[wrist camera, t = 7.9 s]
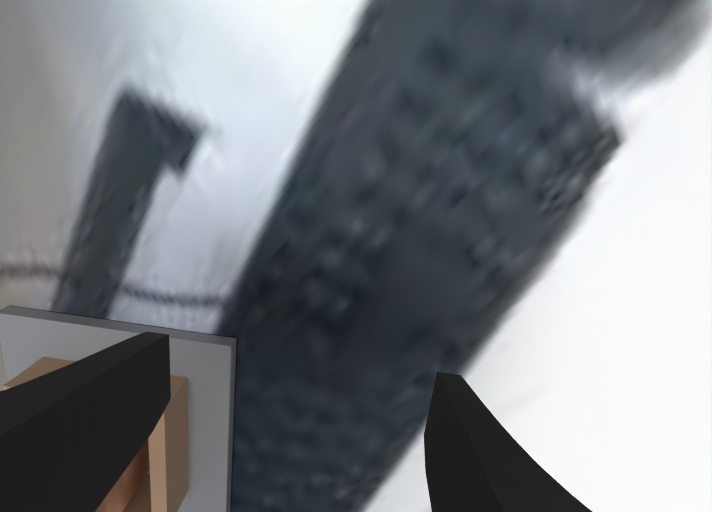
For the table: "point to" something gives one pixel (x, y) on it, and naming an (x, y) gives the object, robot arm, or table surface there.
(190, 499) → the dock
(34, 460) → the robot arm
